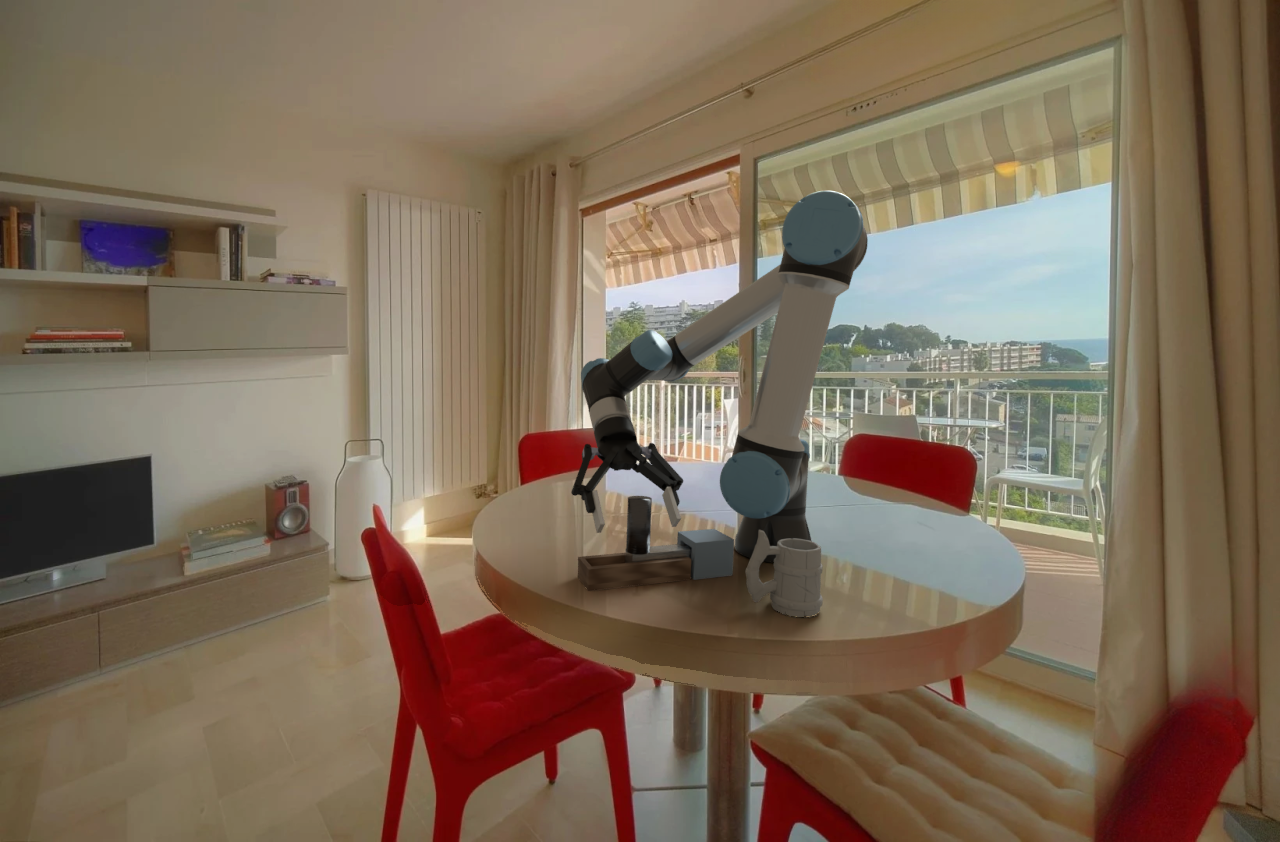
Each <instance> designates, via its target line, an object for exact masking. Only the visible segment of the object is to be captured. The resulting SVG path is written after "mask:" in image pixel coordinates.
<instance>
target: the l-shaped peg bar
mask: <svg viewBox="0 0 1280 842" xmlns="http://www.w3.org/2000/svg"><path fill="white" fill-rule="evenodd" d="M652 506H653V505H652V497H650V496H645V495H631V496H628V497H627V508H626V509H627V510H626V512H627V515H626V517H627V518H626V541H625V543H626V544H625V545H626V546H625V553H626V554H625V563H633V562H643V561H654V560H664V559H674V558H684V557H689V558H690V559H691V554H692V547H690V546H689V545H687V544H686V543H685V544H677V543H675V544H663V545H655V546H654V545H653V546H652V545H651V534H652V533H651V530H652V528H651V527H652Z"/></svg>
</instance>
